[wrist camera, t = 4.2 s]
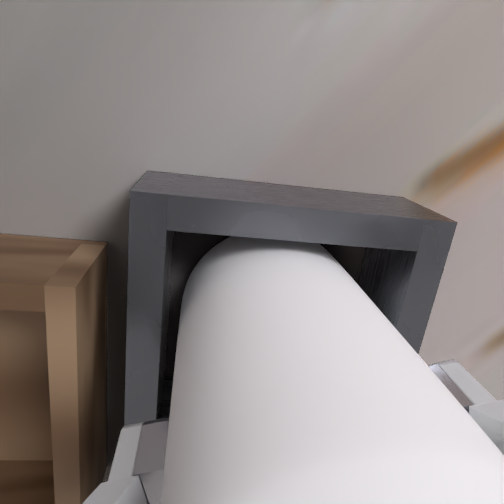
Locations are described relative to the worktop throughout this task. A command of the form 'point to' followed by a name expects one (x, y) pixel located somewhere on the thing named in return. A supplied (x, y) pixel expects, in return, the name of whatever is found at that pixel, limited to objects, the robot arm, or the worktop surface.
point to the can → (309, 393)
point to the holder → (52, 369)
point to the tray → (278, 228)
